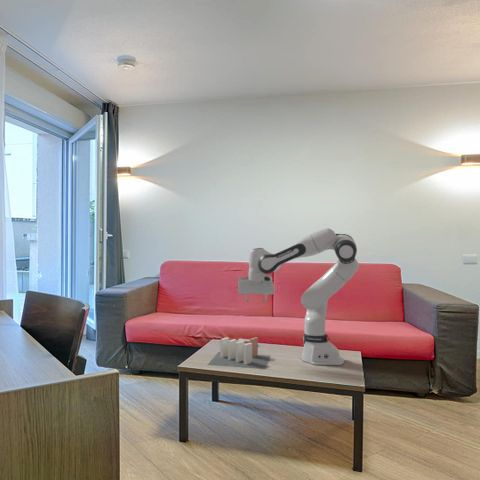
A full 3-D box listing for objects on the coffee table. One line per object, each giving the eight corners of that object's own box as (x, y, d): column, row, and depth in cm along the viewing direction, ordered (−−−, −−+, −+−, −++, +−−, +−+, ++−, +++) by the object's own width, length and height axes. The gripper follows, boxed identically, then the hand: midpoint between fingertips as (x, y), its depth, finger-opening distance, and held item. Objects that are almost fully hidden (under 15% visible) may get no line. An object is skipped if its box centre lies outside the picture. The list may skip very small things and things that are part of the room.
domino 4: (243, 363, 197) (243, 344, 197) (249, 361, 201) (249, 342, 201) (245, 364, 196) (246, 345, 196) (252, 362, 199) (252, 343, 200)
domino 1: (220, 357, 207) (220, 339, 208) (226, 355, 211) (226, 337, 211) (222, 357, 206) (222, 339, 207) (228, 355, 210) (228, 337, 210)
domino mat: (270, 356, 212) (270, 355, 212) (265, 370, 189) (265, 369, 189) (218, 353, 217) (218, 352, 217) (207, 365, 195) (207, 364, 195)
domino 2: (227, 359, 204) (228, 340, 204) (234, 357, 208) (234, 339, 208) (230, 360, 203) (230, 341, 203) (236, 358, 207) (236, 339, 207)
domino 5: (249, 357, 209) (249, 338, 209) (255, 355, 212) (255, 337, 212) (251, 357, 208) (252, 339, 208) (257, 355, 211) (257, 337, 211)
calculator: (229, 344, 224) (239, 337, 238) (229, 351, 224) (239, 344, 238) (247, 346, 220) (255, 339, 234) (247, 353, 220) (255, 346, 234)
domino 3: (235, 361, 200) (235, 342, 200) (241, 359, 204) (241, 340, 204) (237, 362, 199) (238, 343, 199) (243, 360, 203) (244, 341, 203)
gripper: (237, 277, 208) (236, 302, 208) (274, 278, 207) (274, 303, 207) (238, 276, 214) (237, 300, 214) (274, 277, 213) (273, 301, 213)
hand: (255, 302), depth 211 cm, fingers open, 8 cm apart
